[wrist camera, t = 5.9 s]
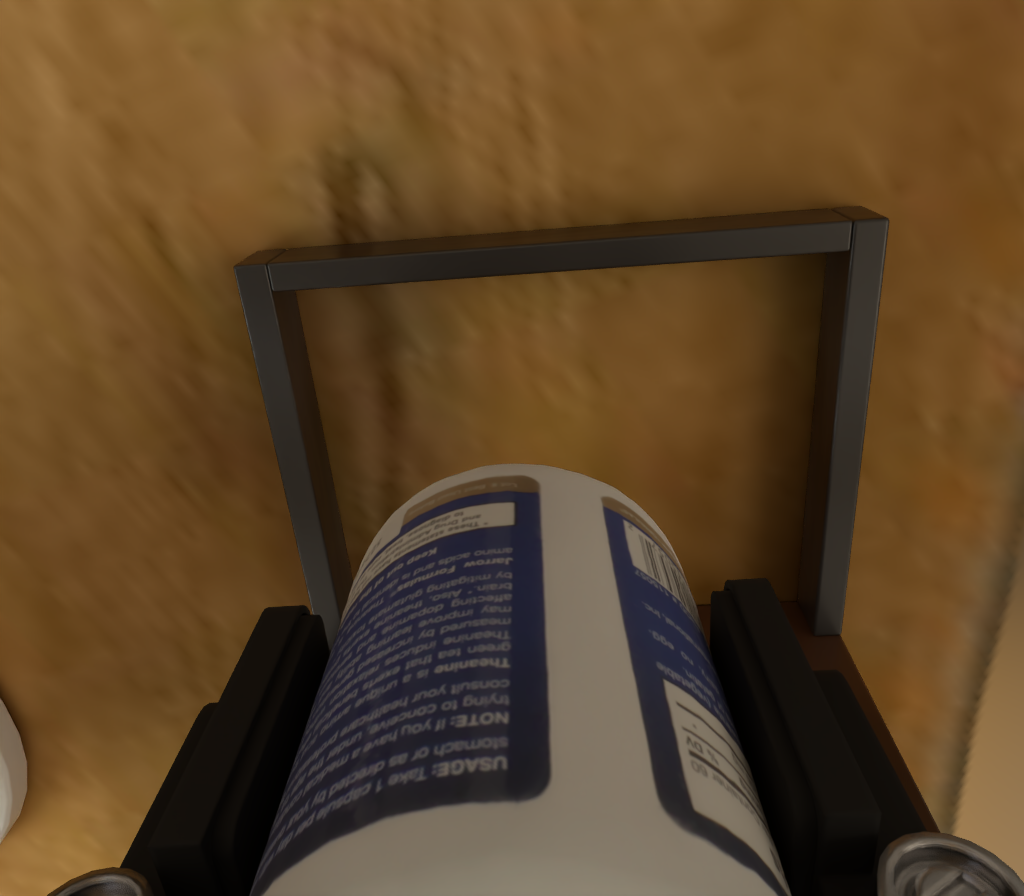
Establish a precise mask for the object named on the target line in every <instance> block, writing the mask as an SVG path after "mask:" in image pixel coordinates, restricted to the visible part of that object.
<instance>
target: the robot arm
mask: <svg viewBox="0 0 1024 896" xmlns="http://www.w3.org/2000/svg"><path fill="white" fill-rule="evenodd" d="M710 652H711V655H712V658H713V662H714V665H715V667H716V670H717V673H718V676H719V679H720V682H721V685H722V688H723V691H724V694H725V697H726V700H727V703H728V706H729V709H730V712H731V715H732V718H733V721H734V724H735V727H736V730H737V733H738V736H739V739H740V742H741V745H742V748H743V751H744V754H745V757H746V759H747V762H748V764H749V766H750V769H751V772H752V776H753V779H754V782H755V785H756V789H757V792H758V796H759V799H760V802H761V805H762V808H763V811H764V814H765V817H766V820H767V823H768V826H769V830H770V833H771V836H772V838H773V841H774V843H775V846H776V848H777V851H778V854H779V858H780V861H781V865H782V868H783V872H784V875H785V878H786V881H787V884H788V886H789V889H790V892H791V895H792V896H1024V883H1023V881H1022V880H1021V879H1020V878H1019V876H1018V875H1017V874H1016V873H1015V871H1014V870H1013V869H1011V868H1010V867H1009V866H1008V865H1006V864H1005V863H1004V862H1003V861H1002V860H1000V859H999V858H998V857H997V856H996V855H994V854H993V853H991V852H989V851H988V850H986V849H984V848H982V847H980V846H978V845H977V844H975V843H973V842H971V841H969V840H965V839H962V838H959V837H956V836H953V835H950V834H946V833H936V832H927V830H926V828H925V826H924V824H923V823H922V821H921V819H920V817H919V815H918V813H917V811H916V809H915V808H914V806H913V804H912V802H911V800H910V798H909V796H908V794H907V792H906V791H905V789H904V787H903V785H902V783H901V781H900V779H899V777H898V776H897V774H896V772H895V770H894V768H893V766H892V764H891V762H890V761H889V759H888V757H887V755H886V753H885V751H884V749H883V747H882V746H881V744H880V742H879V740H878V738H877V736H876V734H875V732H874V731H873V729H872V727H871V725H870V723H869V721H868V719H867V717H866V716H865V714H864V712H863V710H862V708H861V706H860V704H859V702H858V701H857V699H856V697H855V695H854V693H853V691H852V689H851V687H850V686H849V684H848V682H847V680H846V679H845V677H844V676H843V674H842V673H841V672H839V671H838V670H836V669H835V670H816V671H812V669H811V667H810V664H809V662H808V660H807V658H806V656H805V654H804V652H803V650H802V648H801V646H800V644H799V642H798V640H797V638H796V636H795V633H794V631H793V629H792V627H791V625H790V623H789V621H788V619H787V617H786V615H785V613H784V611H783V609H782V607H781V605H780V602H779V600H778V598H777V596H776V594H775V592H774V590H773V588H772V586H771V584H770V582H769V581H768V579H766V578H758V579H741V580H727V581H726V582H725V586H724V591H713V592H712V595H711V613H710ZM329 657H330V650H329V645H328V641H327V636H326V632H325V627H324V623H323V619H322V617H321V616H320V615H310V611H309V609H308V608H307V607H306V606H305V605H300V606H283V607H268V608H266V609H264V611H263V612H262V614H261V616H260V618H259V620H258V622H257V624H256V626H255V628H254V630H253V632H252V634H251V636H250V638H249V640H248V643H247V645H246V647H245V649H244V651H243V653H242V655H241V657H240V659H239V661H238V663H237V665H236V667H235V669H234V671H233V673H232V675H231V677H230V679H229V681H228V683H227V685H226V687H225V689H224V691H223V693H222V696H221V698H220V700H219V702H218V703H209V704H207V705H206V706H204V707H203V709H202V710H201V711H200V713H199V714H198V716H197V718H196V720H195V722H194V724H193V726H192V728H191V730H190V732H189V734H188V735H187V737H186V739H185V741H184V743H183V745H182V747H181V749H180V751H179V753H178V755H177V757H176V759H175V761H174V763H173V765H172V767H171V769H170V771H169V773H168V775H167V776H166V778H165V780H164V782H163V784H162V786H161V788H160V790H159V792H158V794H157V796H156V798H155V800H154V802H153V804H152V806H151V808H150V810H149V812H148V814H147V815H146V817H145V819H144V821H143V823H142V825H141V827H140V829H139V831H138V833H137V835H136V837H135V839H134V841H133V843H132V845H131V847H130V849H129V851H128V853H127V855H126V856H125V858H124V860H123V862H122V864H121V866H120V868H116V867H111V868H105V869H100V870H94V871H91V872H88V873H86V874H83V875H81V876H79V877H76V878H74V879H71V880H69V881H68V882H66V883H65V884H63V885H62V886H60V887H59V888H57V889H56V890H54V891H52V892H51V893H49V894H48V895H47V896H249V895H250V892H251V889H252V886H253V883H254V880H255V877H256V874H257V871H258V867H259V864H260V861H261V859H262V856H263V853H264V850H265V847H266V845H267V842H268V838H269V834H270V830H271V828H272V825H273V822H274V820H275V817H276V814H277V811H278V808H279V805H280V802H281V799H282V795H283V792H284V790H285V787H286V784H287V781H288V778H289V775H290V772H291V769H292V766H293V763H294V760H295V757H296V754H297V751H298V749H299V746H300V743H301V740H302V737H303V734H304V731H305V728H306V725H307V722H308V719H309V716H310V713H311V709H312V706H313V703H314V700H315V697H316V695H317V692H318V689H319V686H320V683H321V680H322V677H323V674H324V671H325V668H326V665H327V662H328V659H329ZM26 793H27V761H26V757H25V753H24V749H23V746H22V742H21V738H20V734H19V732H18V730H17V728H16V726H15V724H14V722H13V720H12V718H11V716H10V714H9V712H8V710H7V708H6V706H5V705H4V703H3V701H2V700H1V698H0V844H1V842H2V841H3V839H4V838H5V836H6V835H7V833H8V832H9V830H10V829H11V827H12V826H13V824H14V823H15V821H16V820H17V818H18V817H19V815H20V813H21V810H22V806H23V803H24V800H25V796H26Z"/></svg>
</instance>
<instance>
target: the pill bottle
mask: <svg viewBox="0 0 1024 896" xmlns="http://www.w3.org/2000/svg"><path fill="white" fill-rule="evenodd" d="M249 896H792V895H791V892H790V889H789V886H788V884H787V881H786V878H785V875H784V872H783V868H782V865H781V861H780V858H779V854H778V851H777V848H776V846H775V843H774V841H773V838H772V836H771V833H770V830H769V826H768V823H767V820H766V817H765V814H764V811H763V808H762V805H761V802H760V799H759V796H758V792H757V789H756V785H755V782H754V779H753V776H752V772H751V769H750V766H749V764H748V762H747V759H746V757H745V754H744V751H743V748H742V745H741V742H740V739H739V736H738V733H737V730H736V727H735V724H734V721H733V718H732V715H731V712H730V709H729V706H728V703H727V700H726V697H725V694H724V691H723V688H722V685H721V682H720V679H719V676H718V673H717V670H716V667H715V665H714V662H713V658H712V655H711V652H710V649H709V646H708V643H707V640H706V637H705V634H704V630H703V627H702V624H701V621H700V618H699V615H698V610H697V607H696V604H695V601H694V599H693V597H692V594H691V592H690V588H689V585H688V582H687V580H686V577H685V575H684V572H683V569H682V567H681V565H680V562H679V560H678V558H677V556H676V554H675V552H674V550H673V548H672V546H671V544H670V543H669V541H668V539H667V538H666V536H665V535H664V534H663V532H662V531H661V529H660V528H659V527H658V526H657V524H656V523H655V522H654V520H653V519H652V518H651V517H650V516H649V515H648V514H647V513H646V512H645V511H644V510H643V509H642V508H641V507H640V506H639V505H637V504H636V503H635V502H634V501H633V500H631V499H630V498H628V497H627V496H625V495H624V494H623V493H621V492H620V491H619V490H617V489H616V488H614V487H612V486H610V485H608V484H606V483H603V482H601V481H598V480H596V479H593V478H591V477H588V476H586V475H583V474H580V473H576V472H573V471H569V470H565V469H561V468H557V467H551V466H546V465H533V464H498V465H490V466H482V467H478V468H475V469H472V470H469V471H466V472H462V473H459V474H456V475H453V476H450V477H447V478H444V479H442V480H440V481H437V482H435V483H433V484H432V485H430V486H428V487H427V488H425V489H423V490H422V491H420V492H418V493H417V494H416V495H414V496H413V497H412V498H411V499H409V500H408V501H407V502H406V503H405V504H404V505H402V506H401V507H400V508H399V509H397V510H396V511H395V512H394V513H393V514H392V515H391V516H390V518H389V519H388V520H387V521H386V523H385V524H384V525H383V527H382V528H381V529H380V531H379V532H378V533H377V535H376V536H375V538H374V539H373V541H372V543H371V545H370V546H369V548H368V550H367V552H366V554H365V556H364V558H363V560H362V562H361V565H360V568H359V570H358V573H357V575H356V577H355V580H354V582H353V585H352V588H351V591H350V594H349V597H348V601H347V604H346V606H345V609H344V612H343V615H342V619H341V623H340V626H339V630H338V633H337V637H336V639H335V642H334V644H333V647H332V650H331V654H330V657H329V659H328V662H327V665H326V668H325V671H324V674H323V677H322V680H321V683H320V686H319V689H318V692H317V695H316V697H315V700H314V703H313V706H312V709H311V713H310V716H309V719H308V722H307V725H306V728H305V731H304V734H303V737H302V740H301V743H300V746H299V749H298V751H297V754H296V757H295V760H294V763H293V766H292V769H291V772H290V775H289V778H288V781H287V784H286V787H285V790H284V792H283V795H282V799H281V802H280V805H279V808H278V811H277V814H276V817H275V820H274V822H273V825H272V828H271V830H270V834H269V838H268V842H267V845H266V847H265V850H264V853H263V856H262V859H261V861H260V864H259V867H258V871H257V874H256V877H255V880H254V883H253V886H252V889H251V892H250V895H249Z"/></svg>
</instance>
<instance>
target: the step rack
mask: <svg viewBox="0 0 1024 896" xmlns="http://www.w3.org/2000/svg"><path fill="white" fill-rule="evenodd" d="M888 228H889V219H888V218H887V217H884V216H882V215H880V214H878V213H876V212H873V211H871V210H869V209H867V208H865V207H862V206H857V207H844V208H834V209H832V210H830V209H814V210H801V211H787V212H774V213H761V214H747V215H734V216H721V217H707V218H694V219H680V220H667V221H654V222H640V223H627V224H614V225H600V226H587V227H574V228H560V229H547V230H533V231H520V232H507V233H493V234H480V235H467V236H453V237H440V238H427V239H413V240H400V241H386V242H373V243H360V244H346V245H333V246H320V247H306V248H293V249H288V250H286V249H279V250H265V251H257V252H255V253H254V254H252V255H251V256H249V257H248V258H246V259H244V260H243V261H241V262H240V263H238V264H237V265H235V266H234V272H235V277H236V281H237V285H238V290H239V294H240V298H241V303H242V307H243V311H244V316H245V320H246V324H247V329H248V333H249V338H250V342H251V346H252V351H253V355H254V359H255V364H256V368H257V372H258V377H259V381H260V385H261V390H262V394H263V399H264V403H265V407H266V412H267V416H268V420H269V425H270V429H271V433H272V438H273V442H274V446H275V451H276V455H277V460H278V464H279V468H280V473H281V477H282V481H283V486H284V490H285V494H286V499H287V503H288V508H289V512H290V516H291V521H292V525H293V529H294V534H295V538H296V542H297V547H298V551H299V555H300V560H301V564H302V569H303V573H304V577H305V582H306V586H307V590H308V595H309V599H310V603H311V608H312V612H313V615H320V616H321V617H322V619H323V623H324V627H325V632H326V636H327V641H328V645H329V650H330V654H331V650H332V647H333V644H334V642H335V639H336V637H337V633H338V630H339V626H340V623H341V619H342V615H343V612H344V609H345V606H346V604H347V601H348V597H349V594H350V591H351V588H352V585H353V579H352V574H351V569H350V564H349V559H348V554H347V549H346V544H345V539H344V534H343V529H342V524H341V519H340V514H339V509H338V504H337V499H336V494H335V489H334V484H333V479H332V474H331V469H330V464H329V459H328V454H327V449H326V444H325V439H324V434H323V429H322V424H321V419H320V414H319V409H318V403H317V398H316V393H315V388H314V383H313V378H312V373H311V368H310V363H309V358H308V353H307V348H306V343H305V338H304V333H303V328H302V323H301V318H300V313H299V308H298V303H297V298H296V293H295V290H308V289H323V288H337V287H351V286H365V285H379V284H393V283H407V282H421V281H435V280H450V279H464V278H478V277H492V276H506V275H520V274H534V273H548V272H562V271H577V270H591V269H605V268H619V267H633V266H647V265H661V264H675V263H690V262H704V261H718V260H732V259H746V258H760V257H774V256H788V255H802V254H817V253H827V257H826V268H825V280H824V292H823V304H822V315H821V327H820V339H819V350H818V362H817V374H816V385H815V397H814V409H813V420H812V432H811V444H810V456H809V467H808V479H807V491H806V502H805V514H804V526H803V537H802V549H801V561H800V572H799V584H798V596H797V601H798V602H783V603H780V605H781V607H782V609H783V611H784V613H785V615H786V617H787V619H788V621H789V623H790V625H791V627H792V629H793V631H794V633H795V636H796V638H797V640H798V642H799V644H800V646H801V648H802V650H803V652H804V654H805V656H806V658H807V660H808V662H809V664H810V667H811V669H812V671H816V670H835V669H836V670H838V671H839V672H841V673H842V674H843V676H844V677H845V679H846V680H847V682H848V684H849V686H850V687H851V689H852V691H853V693H854V695H855V697H856V699H857V701H858V702H859V704H860V706H861V708H862V710H863V712H864V714H865V716H866V717H867V719H868V721H869V723H870V725H871V727H872V729H873V731H874V732H875V734H876V736H877V738H878V740H879V742H880V744H881V746H882V747H883V749H884V751H885V753H886V755H887V757H888V759H889V761H890V762H891V764H892V766H893V768H894V770H895V772H896V774H897V776H898V777H899V779H900V781H901V783H902V785H903V787H904V789H905V791H906V792H907V794H908V796H909V798H910V800H911V802H912V804H913V806H914V808H915V809H916V811H917V813H918V815H919V817H920V819H921V821H922V823H923V824H924V826H925V828H926V830H927V832H936V833H940V831H939V829H938V827H937V825H936V823H935V821H934V819H933V817H932V815H931V813H930V811H929V809H928V807H927V805H926V803H925V801H924V799H923V797H922V795H921V793H920V791H919V789H918V788H917V786H916V784H915V782H914V780H913V778H912V776H911V774H910V772H909V770H908V768H907V766H906V764H905V762H904V760H903V758H902V756H901V754H900V752H899V750H898V748H897V746H896V744H895V742H894V740H893V738H892V736H891V734H890V732H889V730H888V728H887V726H886V725H885V723H884V721H883V719H882V717H881V715H880V713H879V711H878V709H877V707H876V705H875V703H874V701H873V699H872V697H871V695H870V693H869V691H868V689H867V687H866V685H865V683H864V681H863V679H862V677H861V675H860V673H859V671H858V669H857V667H856V665H855V664H854V662H853V660H852V658H851V656H850V654H849V652H848V650H847V648H846V646H845V644H844V642H843V640H842V638H841V636H840V634H841V631H842V623H843V614H844V605H845V597H846V588H847V580H848V571H849V562H850V554H851V545H852V537H853V528H854V520H855V511H856V502H857V494H858V485H859V477H860V468H861V459H862V451H863V442H864V434H865V425H866V417H867V408H868V399H869V391H870V382H871V374H872V365H873V357H874V348H875V339H876V331H877V322H878V314H879V305H880V296H881V288H882V279H883V271H884V262H885V254H886V245H887V236H888ZM696 607H697V610H698V615H699V618H700V621H701V624H702V627H703V630H704V634H705V637H706V640H707V643H708V646H709V649H710V613H711V605H708V606H696Z"/></svg>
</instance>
